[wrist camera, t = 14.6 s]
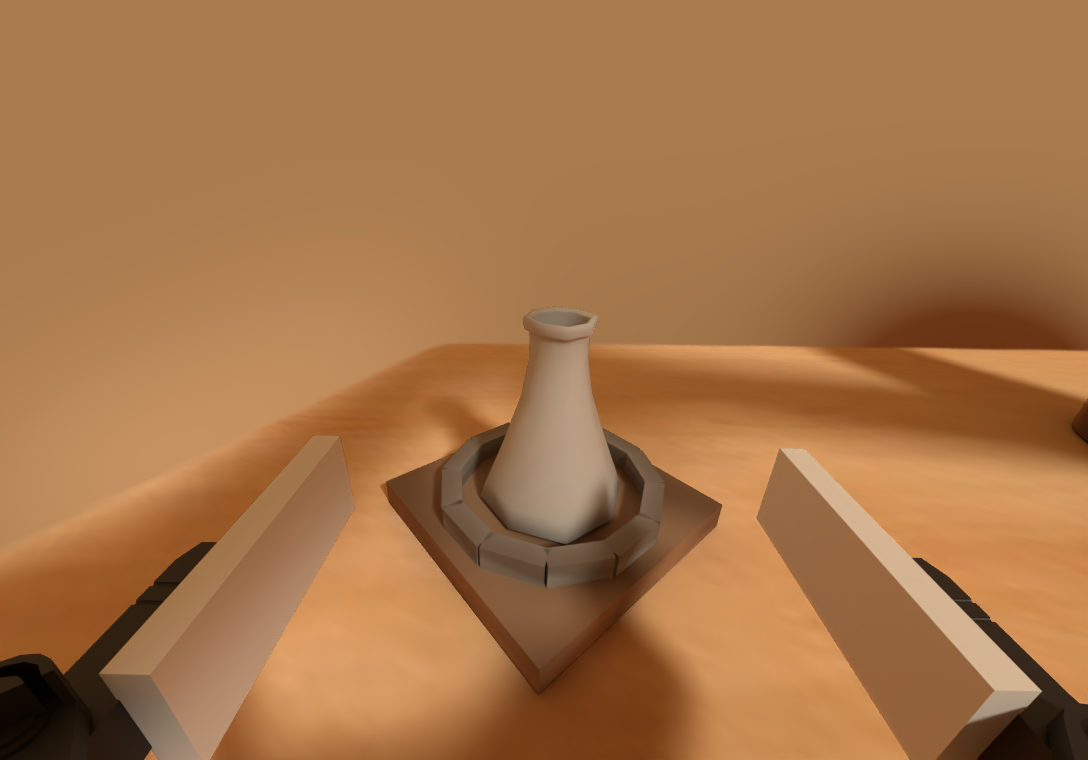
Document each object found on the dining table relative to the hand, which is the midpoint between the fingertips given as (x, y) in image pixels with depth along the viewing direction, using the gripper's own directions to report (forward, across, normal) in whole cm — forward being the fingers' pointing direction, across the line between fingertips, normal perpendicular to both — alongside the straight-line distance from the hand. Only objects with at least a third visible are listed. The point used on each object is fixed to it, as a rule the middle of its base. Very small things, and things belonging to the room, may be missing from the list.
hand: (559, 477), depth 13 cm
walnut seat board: (+8, 0, -9) cm, 12 cm away
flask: (+8, 0, -7) cm, 11 cm away
